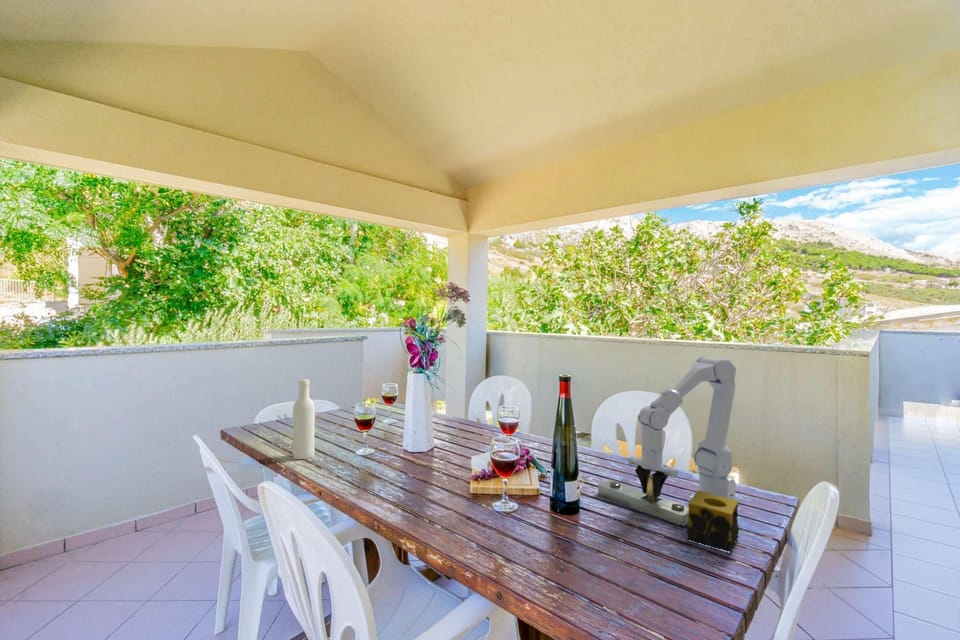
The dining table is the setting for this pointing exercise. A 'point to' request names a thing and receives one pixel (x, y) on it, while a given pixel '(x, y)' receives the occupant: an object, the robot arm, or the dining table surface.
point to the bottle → (303, 423)
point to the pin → (650, 489)
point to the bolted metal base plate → (644, 502)
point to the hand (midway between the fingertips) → (651, 494)
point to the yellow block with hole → (713, 520)
